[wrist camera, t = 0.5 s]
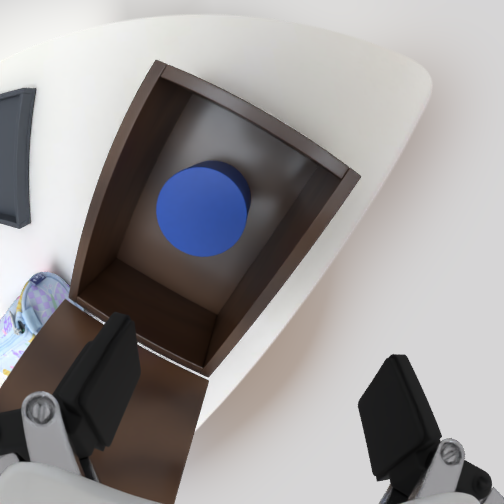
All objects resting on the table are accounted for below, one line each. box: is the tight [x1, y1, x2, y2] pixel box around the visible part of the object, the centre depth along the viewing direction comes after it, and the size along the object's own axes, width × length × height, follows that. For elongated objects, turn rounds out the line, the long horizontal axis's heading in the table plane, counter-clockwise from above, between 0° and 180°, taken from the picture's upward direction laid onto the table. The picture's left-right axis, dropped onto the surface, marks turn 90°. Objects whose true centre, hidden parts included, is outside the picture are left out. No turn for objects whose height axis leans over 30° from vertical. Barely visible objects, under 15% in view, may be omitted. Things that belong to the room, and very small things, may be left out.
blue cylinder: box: [156, 161, 251, 257], centre depth 19 cm, size 6×6×4 cm
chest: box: [68, 60, 361, 377], centre depth 19 cm, size 18×13×8 cm
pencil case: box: [0, 272, 84, 376], centre depth 25 cm, size 21×9×10 cm, turn 121°
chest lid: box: [0, 299, 209, 504], centre depth 12 cm, size 18×13×5 cm
